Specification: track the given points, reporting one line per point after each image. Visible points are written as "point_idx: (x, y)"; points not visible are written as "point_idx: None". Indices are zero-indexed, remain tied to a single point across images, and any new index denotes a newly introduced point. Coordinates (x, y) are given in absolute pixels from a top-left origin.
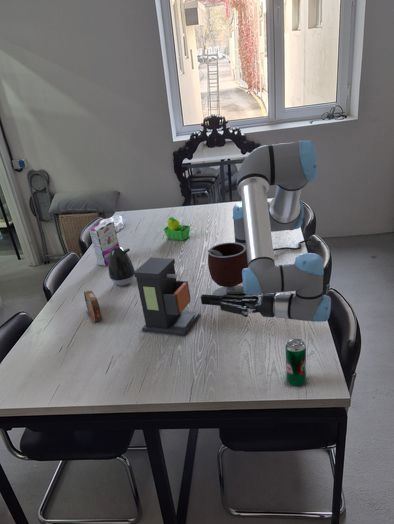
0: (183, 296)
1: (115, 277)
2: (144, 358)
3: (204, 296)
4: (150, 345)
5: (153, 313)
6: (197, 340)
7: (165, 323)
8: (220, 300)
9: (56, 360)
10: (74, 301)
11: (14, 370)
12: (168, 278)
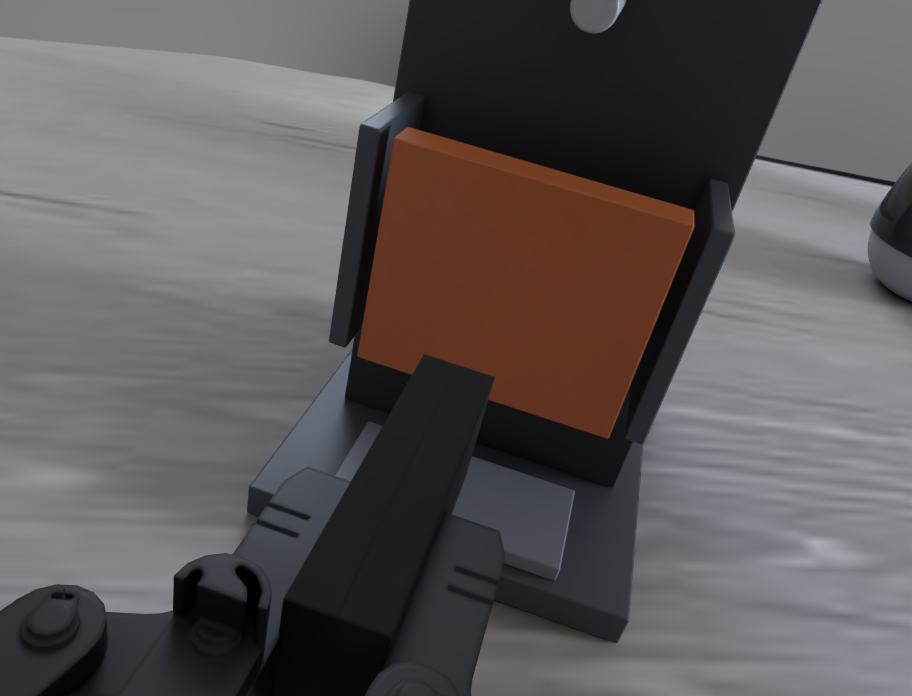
0: (513, 279)
1: (879, 214)
2: (14, 301)
3: (412, 387)
4: (181, 334)
5: None
6: None
7: (356, 350)
8: (184, 606)
9: (197, 112)
10: None
11: (177, 61)
12: (606, 41)
